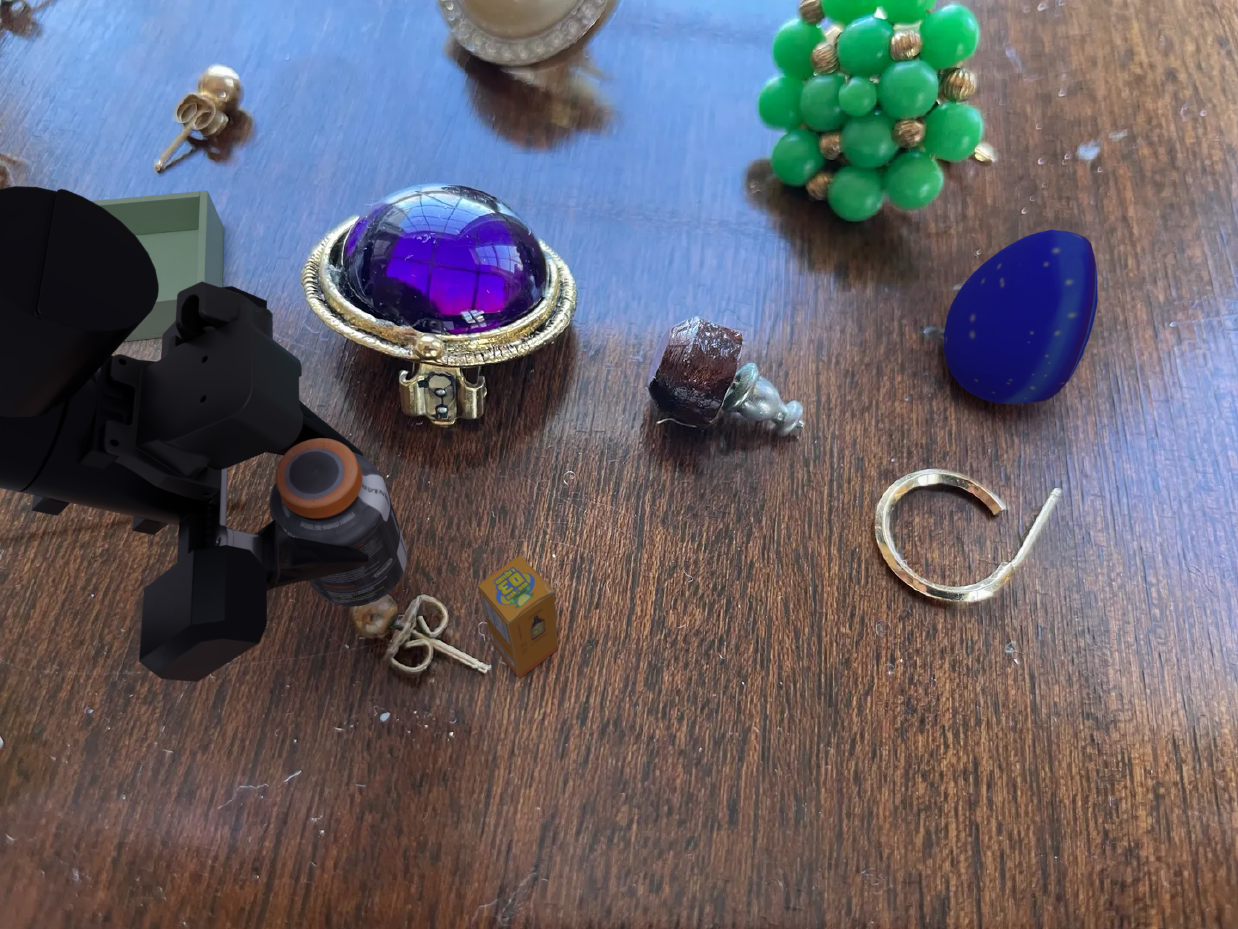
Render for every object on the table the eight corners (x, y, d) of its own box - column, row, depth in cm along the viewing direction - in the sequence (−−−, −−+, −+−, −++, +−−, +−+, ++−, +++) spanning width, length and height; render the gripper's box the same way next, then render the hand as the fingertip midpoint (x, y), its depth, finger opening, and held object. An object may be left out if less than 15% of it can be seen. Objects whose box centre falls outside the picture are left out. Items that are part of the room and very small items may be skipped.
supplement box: (527, 611, 59) (523, 549, 50) (559, 650, 58) (560, 594, 49) (487, 640, 58) (475, 583, 49) (518, 681, 57) (512, 629, 48)
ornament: (1046, 437, 69) (1160, 314, 56) (930, 423, 69) (1018, 297, 56) (1027, 327, 74) (1127, 192, 61) (920, 314, 74) (997, 176, 61)
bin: (68, 348, 67) (41, 313, 64) (82, 240, 72) (57, 203, 69) (221, 331, 69) (204, 296, 65) (224, 227, 74) (207, 190, 71)
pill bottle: (421, 530, 54) (394, 433, 45) (389, 619, 51) (353, 536, 42) (328, 509, 55) (281, 408, 45) (291, 597, 52) (232, 509, 42)
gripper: (110, 553, 28) (481, 619, 39) (148, 147, 37) (442, 297, 48) (-25, 669, 33) (335, 697, 45) (37, 292, 42) (323, 396, 53)
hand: (361, 509), depth 47 cm, fingers closed on pill bottle, 6 cm apart
